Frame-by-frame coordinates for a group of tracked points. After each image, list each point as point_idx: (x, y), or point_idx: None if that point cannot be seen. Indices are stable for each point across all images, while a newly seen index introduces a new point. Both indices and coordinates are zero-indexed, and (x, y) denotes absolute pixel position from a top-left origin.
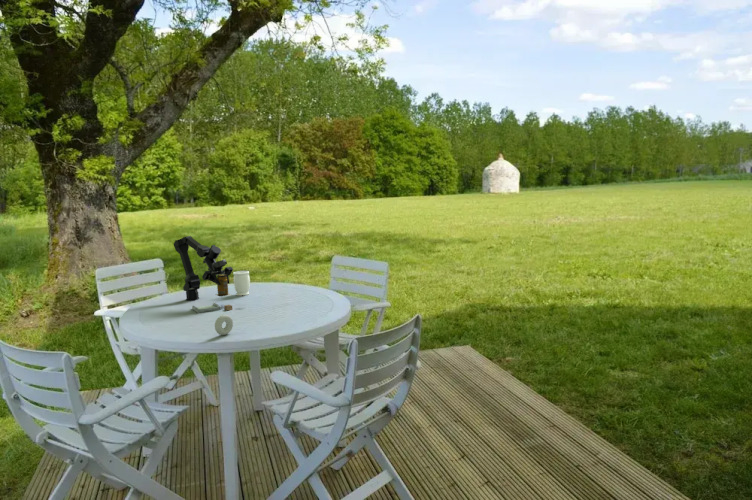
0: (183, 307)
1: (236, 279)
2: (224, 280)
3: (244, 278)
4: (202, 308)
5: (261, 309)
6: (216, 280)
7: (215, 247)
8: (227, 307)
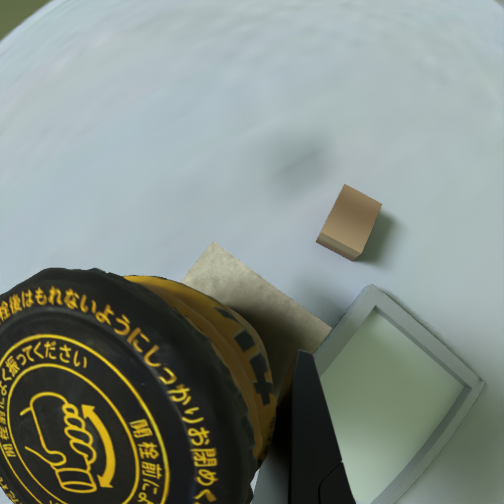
0: None
1: None
2: (197, 292)
3: None
4: (385, 436)
5: (279, 50)
6: (332, 461)
7: None
8: (379, 207)
